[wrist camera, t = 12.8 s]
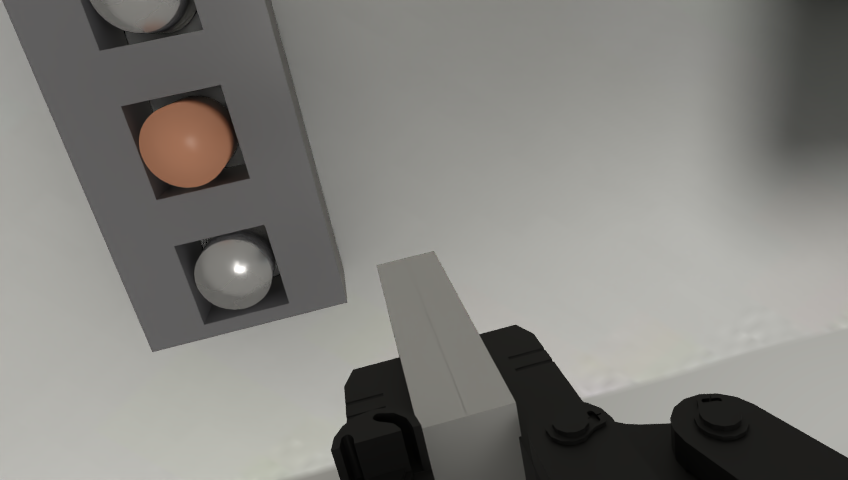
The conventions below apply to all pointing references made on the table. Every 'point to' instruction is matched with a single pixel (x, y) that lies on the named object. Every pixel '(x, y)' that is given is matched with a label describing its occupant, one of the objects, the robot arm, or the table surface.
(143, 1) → the steel button near
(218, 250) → the steel button far
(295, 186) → the button console
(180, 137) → the terracotta button
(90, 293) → the table surface
